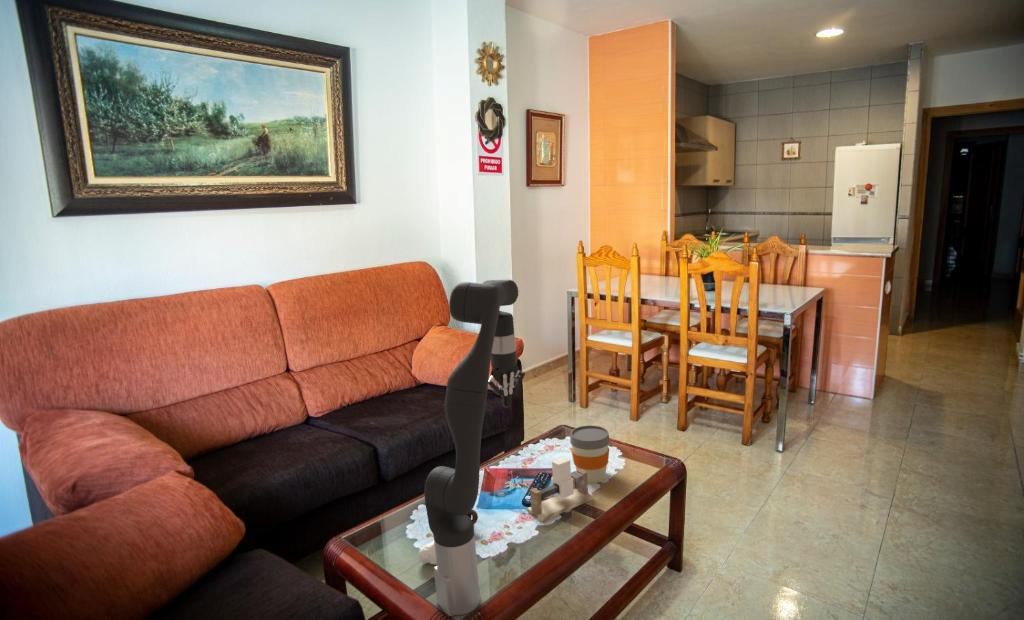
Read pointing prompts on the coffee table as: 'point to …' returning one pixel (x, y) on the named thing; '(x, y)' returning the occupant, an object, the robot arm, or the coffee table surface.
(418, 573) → the coffee table surface
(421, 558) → the duck figurine
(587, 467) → the reusable coffee cup
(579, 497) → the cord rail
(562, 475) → the cream upright block
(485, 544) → the coffee table surface
